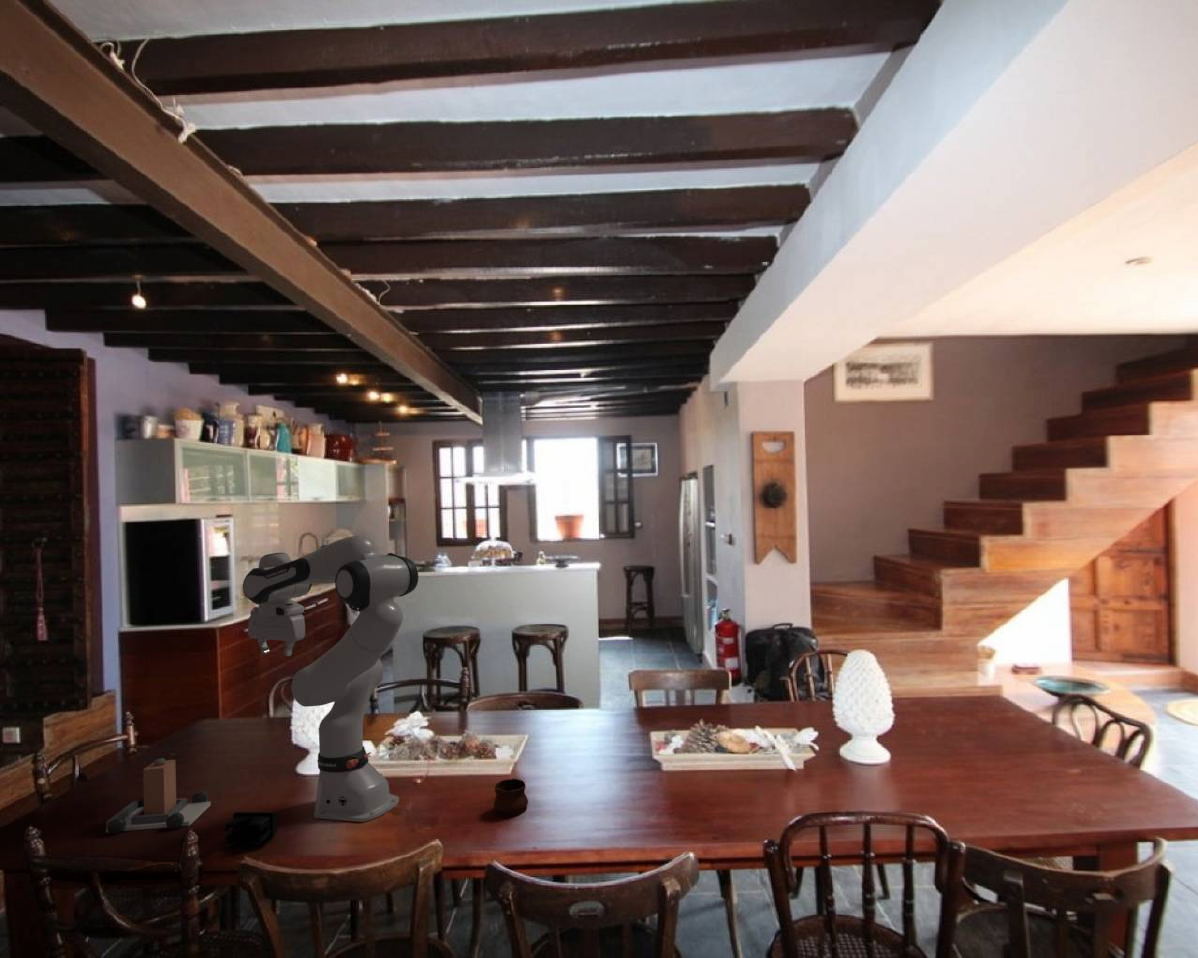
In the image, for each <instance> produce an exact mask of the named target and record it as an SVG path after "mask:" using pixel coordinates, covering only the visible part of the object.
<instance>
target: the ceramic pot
mask: <svg viewBox="0 0 1198 958" xmlns="http://www.w3.org/2000/svg"><path fill="white" fill-rule="evenodd" d="M525 790H526V782H525V781H523V780H522V779H517V778H510V779H509V778H508V779H502V780H500V781H499V782H498V783H496V784H495V786H494V792H495V798H494V799H491V800H488V801H486V802H485V803H489V802H490V801H491V802H492V801H493V808H494V811H495V813H496V815H498V816H500V817H503V818H513V817H517V816H520V815H522V814H524V813H525V812H526V811H527V810H528V797H527V795H526V793H525Z"/></svg>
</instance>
